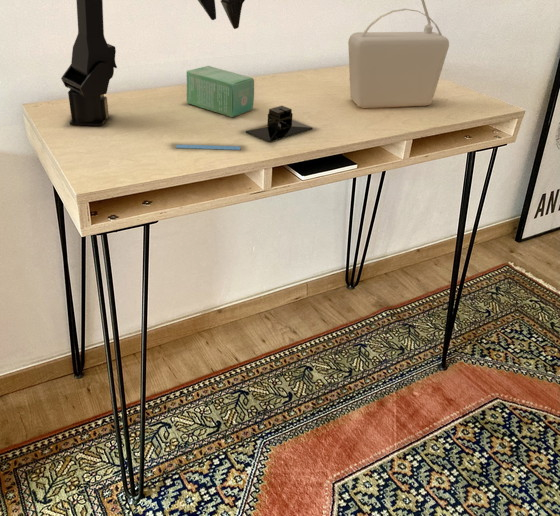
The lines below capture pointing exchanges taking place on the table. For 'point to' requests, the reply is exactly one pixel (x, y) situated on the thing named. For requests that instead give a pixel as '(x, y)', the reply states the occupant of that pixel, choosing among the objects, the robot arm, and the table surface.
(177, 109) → the table surface
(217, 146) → the tape line
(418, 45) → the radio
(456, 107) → the table surface
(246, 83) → the box
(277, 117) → the black stand
